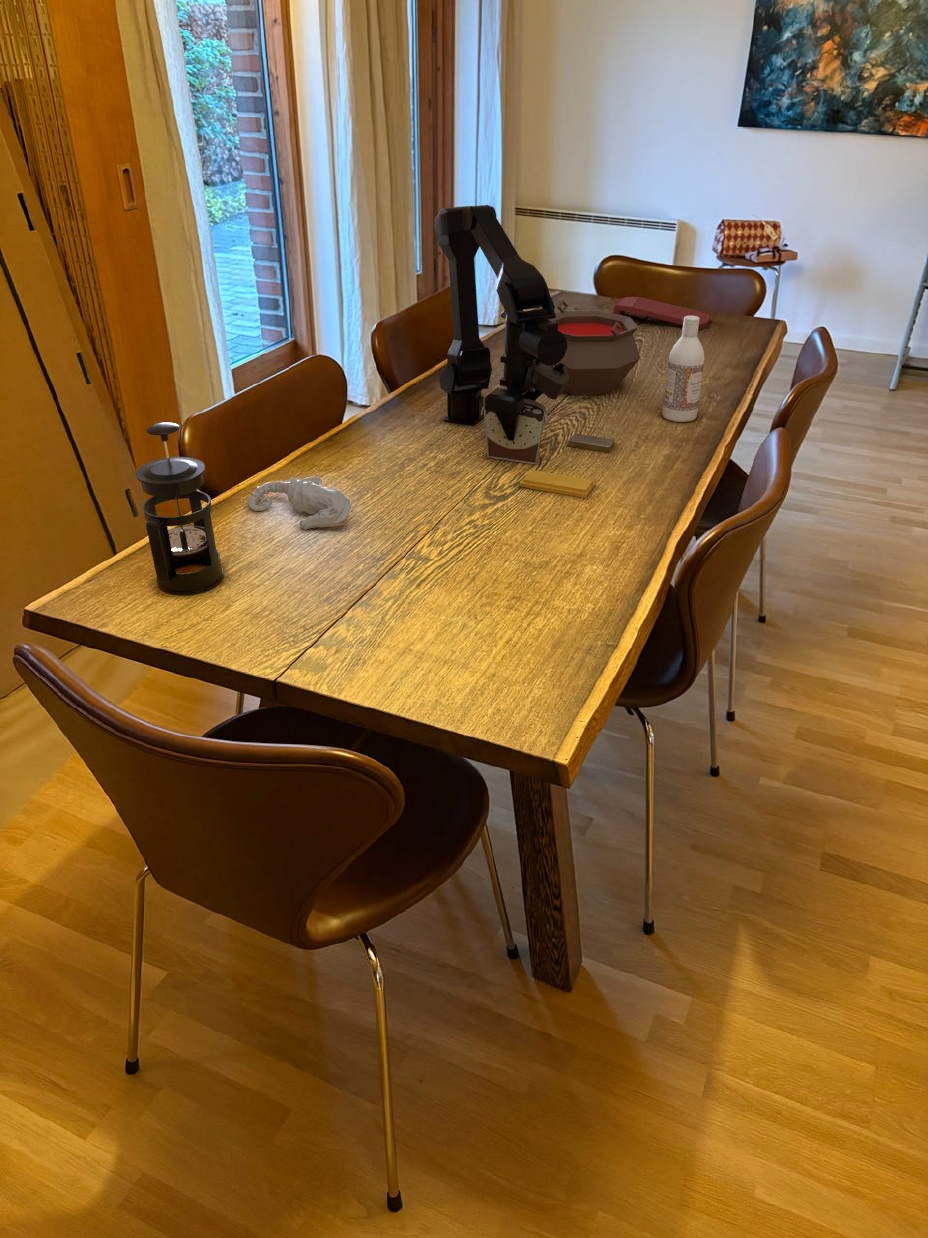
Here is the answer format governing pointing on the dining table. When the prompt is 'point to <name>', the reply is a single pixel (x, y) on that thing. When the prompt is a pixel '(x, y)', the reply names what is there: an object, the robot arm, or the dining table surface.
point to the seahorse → (307, 501)
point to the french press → (179, 522)
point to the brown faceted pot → (596, 349)
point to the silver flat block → (591, 442)
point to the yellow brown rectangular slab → (557, 483)
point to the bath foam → (684, 375)
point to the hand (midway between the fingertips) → (517, 434)
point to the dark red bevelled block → (658, 310)
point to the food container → (525, 437)
